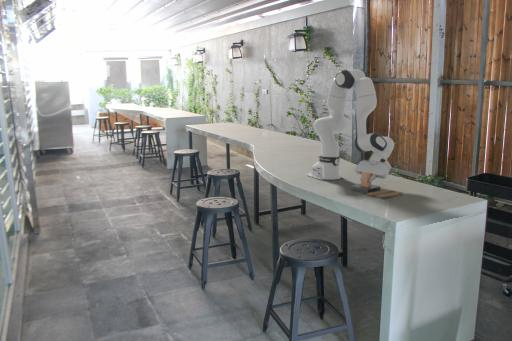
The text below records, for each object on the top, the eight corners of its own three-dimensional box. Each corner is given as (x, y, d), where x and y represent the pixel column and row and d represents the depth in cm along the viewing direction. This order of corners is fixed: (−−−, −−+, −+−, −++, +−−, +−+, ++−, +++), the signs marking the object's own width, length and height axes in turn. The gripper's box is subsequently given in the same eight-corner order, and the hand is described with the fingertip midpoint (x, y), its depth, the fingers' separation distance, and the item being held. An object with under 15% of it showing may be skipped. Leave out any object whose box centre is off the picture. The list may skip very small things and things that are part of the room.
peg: (360, 190, 262) (361, 173, 260) (365, 189, 264) (365, 172, 262) (366, 191, 259) (367, 174, 257) (370, 190, 261) (371, 173, 259)
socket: (351, 189, 262) (351, 185, 262) (363, 186, 270) (363, 182, 269) (367, 193, 254) (367, 189, 253) (380, 190, 261) (380, 186, 260)
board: (367, 195, 251) (367, 193, 251) (385, 190, 261) (385, 188, 261) (384, 199, 243) (384, 197, 243) (402, 194, 253) (402, 192, 252)
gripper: (359, 156, 270) (348, 174, 266) (389, 161, 255) (378, 180, 251) (364, 162, 274) (353, 181, 270) (393, 168, 259) (382, 187, 254)
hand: (365, 181), depth 260 cm, fingers closed on peg, 4 cm apart
